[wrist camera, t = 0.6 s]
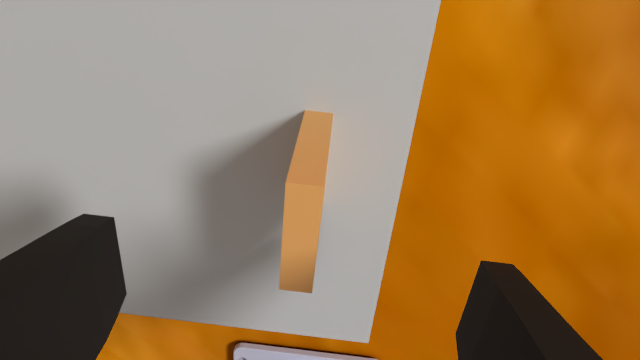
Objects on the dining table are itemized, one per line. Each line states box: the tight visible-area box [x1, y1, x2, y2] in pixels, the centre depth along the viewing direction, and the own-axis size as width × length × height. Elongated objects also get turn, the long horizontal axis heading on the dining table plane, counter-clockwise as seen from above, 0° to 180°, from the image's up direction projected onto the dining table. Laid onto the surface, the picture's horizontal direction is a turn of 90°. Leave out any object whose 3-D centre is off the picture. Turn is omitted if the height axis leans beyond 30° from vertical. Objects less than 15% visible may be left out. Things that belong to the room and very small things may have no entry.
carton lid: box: [0, 0, 441, 343], centre depth 12 cm, size 15×14×4 cm
